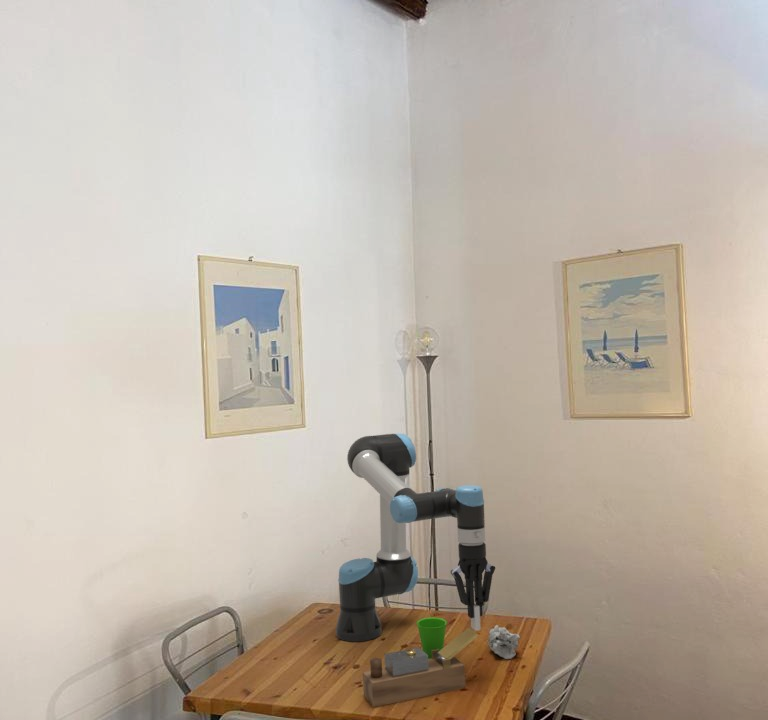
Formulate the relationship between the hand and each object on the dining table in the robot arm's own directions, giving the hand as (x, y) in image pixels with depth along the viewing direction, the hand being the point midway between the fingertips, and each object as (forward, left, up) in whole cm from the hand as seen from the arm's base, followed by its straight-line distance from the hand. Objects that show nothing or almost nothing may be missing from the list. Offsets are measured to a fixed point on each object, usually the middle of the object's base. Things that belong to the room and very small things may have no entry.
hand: (475, 628), depth 196 cm
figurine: (-12, +15, -14) cm, 24 cm away
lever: (0, -11, -6) cm, 12 cm away
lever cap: (0, -21, -7) cm, 22 cm away
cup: (-17, -6, -14) cm, 23 cm away
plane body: (0, -19, -13) cm, 23 cm away
